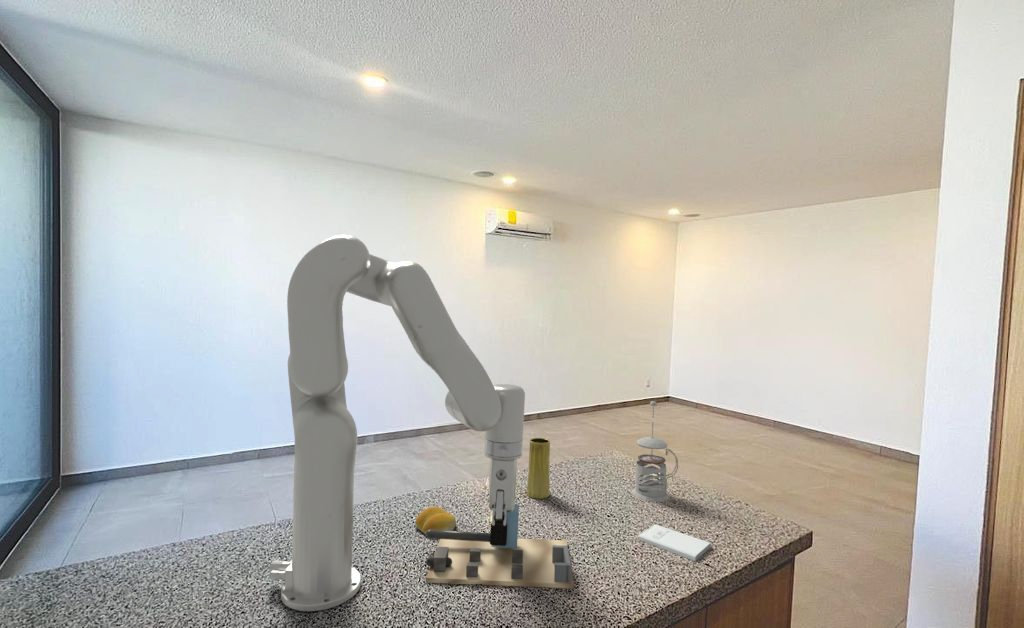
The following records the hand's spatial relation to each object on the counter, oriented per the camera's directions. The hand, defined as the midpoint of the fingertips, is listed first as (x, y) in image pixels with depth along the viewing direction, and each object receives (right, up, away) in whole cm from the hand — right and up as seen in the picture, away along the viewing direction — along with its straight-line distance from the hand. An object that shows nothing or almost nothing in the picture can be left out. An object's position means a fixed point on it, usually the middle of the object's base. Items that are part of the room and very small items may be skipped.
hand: (498, 538), depth 97 cm
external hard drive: (+37, -5, +6) cm, 38 cm away
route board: (+1, -3, -4) cm, 5 cm away
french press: (+41, -4, +33) cm, 52 cm away
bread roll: (-14, -3, +10) cm, 18 cm away
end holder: (+12, -2, -8) cm, 14 cm away
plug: (-5, -1, 0) cm, 6 cm away
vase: (+10, -3, +31) cm, 32 cm away
